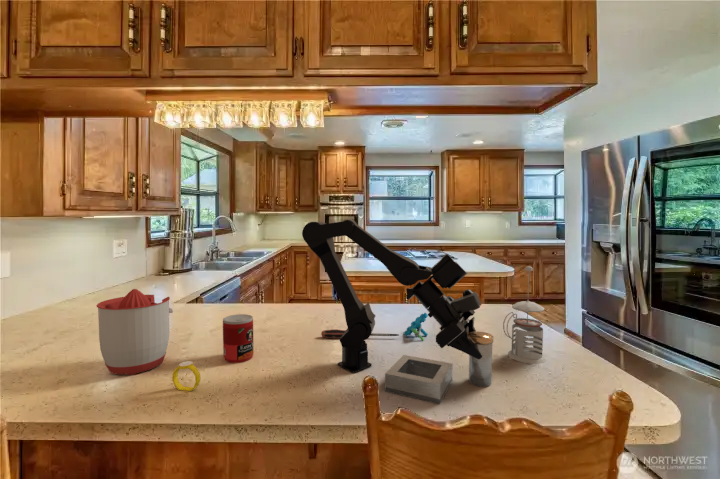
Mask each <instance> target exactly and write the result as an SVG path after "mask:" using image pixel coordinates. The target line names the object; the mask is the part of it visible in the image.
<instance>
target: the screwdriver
mask: <svg viewBox="0 0 720 479" xmlns="http://www.w3.org/2000/svg"><path fill="white" fill-rule="evenodd" d="M346 330H347V329H346ZM346 330H345V329H336V328H335V329H325V330H322V331H321V333H320V335H321V336H322V338H326V339H327V338H328V339H335V340H336V339H340V338H341V337H342V335H343V334H344V333H345V331H346ZM373 336H374V337H399V336H400V334H399V333H377V332H376V333H374V332H372V333H371V335H370V336H369V337H373Z"/></svg>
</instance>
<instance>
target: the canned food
mask: <svg viewBox="0 0 720 479" xmlns="http://www.w3.org/2000/svg"><path fill="white" fill-rule="evenodd" d="M222 345H223V346H222V350H223V359H224V361H225V362H227V363H230V364H240V363H245V362H248V361H250V360H251V359H252V358H253V357H254V316H252V315H250V314H246V313H245V314H243V313H237V314H232V315H230V314H229V315H227V316H225V317H223V318H222Z"/></svg>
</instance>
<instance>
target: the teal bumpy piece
mask: <svg viewBox="0 0 720 479" xmlns="http://www.w3.org/2000/svg"><path fill="white" fill-rule="evenodd" d="M428 317H429V316H428V313H426V312H424V313H421V314H420V315H419V316H417V317H416V318H415V320H414V321H412V322H411V323H410V325H409V326H408V327H407V328H406V329H405V331H404V333H403V334H404V336H406V338H407V337H408V336H411V335H412V334H413V333H414V336H415V337H418V338H419V339H420V340H421V341H425V339H424V337H427V336H428V335H429V334H428V333H427V332H426V331H425V330H424V329H423V328H422V323H425V322H426V321H427V318H428ZM420 334H422V335H423V336H424V337H423V336H422V335H420Z"/></svg>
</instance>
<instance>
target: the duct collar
mask: <svg viewBox="0 0 720 479" xmlns="http://www.w3.org/2000/svg"><path fill="white" fill-rule="evenodd" d="M384 376H385V378H384V385H385V386H384V389H385V390H384V392H385V393H386V392H387V393H391V394H395V395H399V396H404V397H407V398H411V399H416V400H421V401H425V402H428V403H429V402H430V403H434V404H437V405H440V404H441V402H442V401H443V399H444V397H445V395H446V393H447V391H448V390H449V387H450V385H451V383H452V381H453V362H452V363H451V362H446V361H440V360H434V359H429V358H425V357H418V356H417V357H416V356H413V355H412V356H411V355H408V354H402V356H401V357H400V358H399V359H398V360H397V361H396V362H395V363H394V364H393V365H392V366H391V367H390V368H389V369H388V370H387V371H386V372H385V373H384Z"/></svg>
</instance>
